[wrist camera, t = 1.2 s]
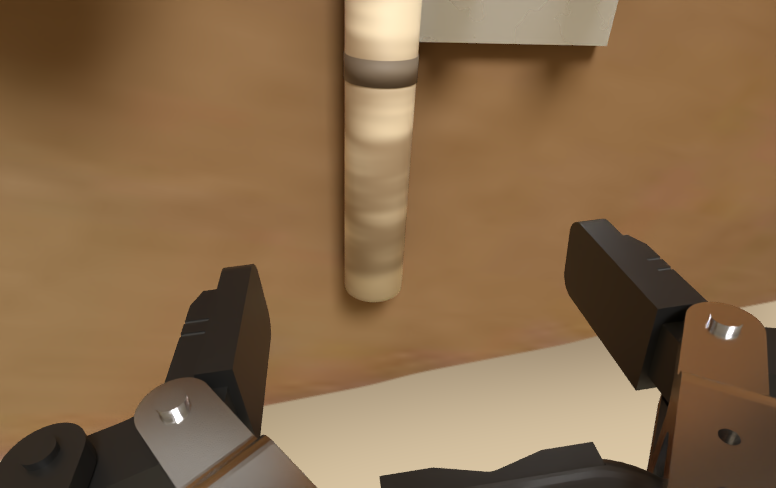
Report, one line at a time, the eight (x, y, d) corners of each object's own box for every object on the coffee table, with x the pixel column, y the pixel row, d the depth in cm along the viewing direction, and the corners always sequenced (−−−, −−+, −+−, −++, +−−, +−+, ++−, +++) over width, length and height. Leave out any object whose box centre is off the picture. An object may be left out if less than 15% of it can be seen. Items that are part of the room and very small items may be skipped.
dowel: (374, 261, 33) (414, 286, 31) (331, 282, 31) (371, 310, 29) (387, -106, 23) (449, -108, 21) (325, -115, 21) (387, -116, 19)
